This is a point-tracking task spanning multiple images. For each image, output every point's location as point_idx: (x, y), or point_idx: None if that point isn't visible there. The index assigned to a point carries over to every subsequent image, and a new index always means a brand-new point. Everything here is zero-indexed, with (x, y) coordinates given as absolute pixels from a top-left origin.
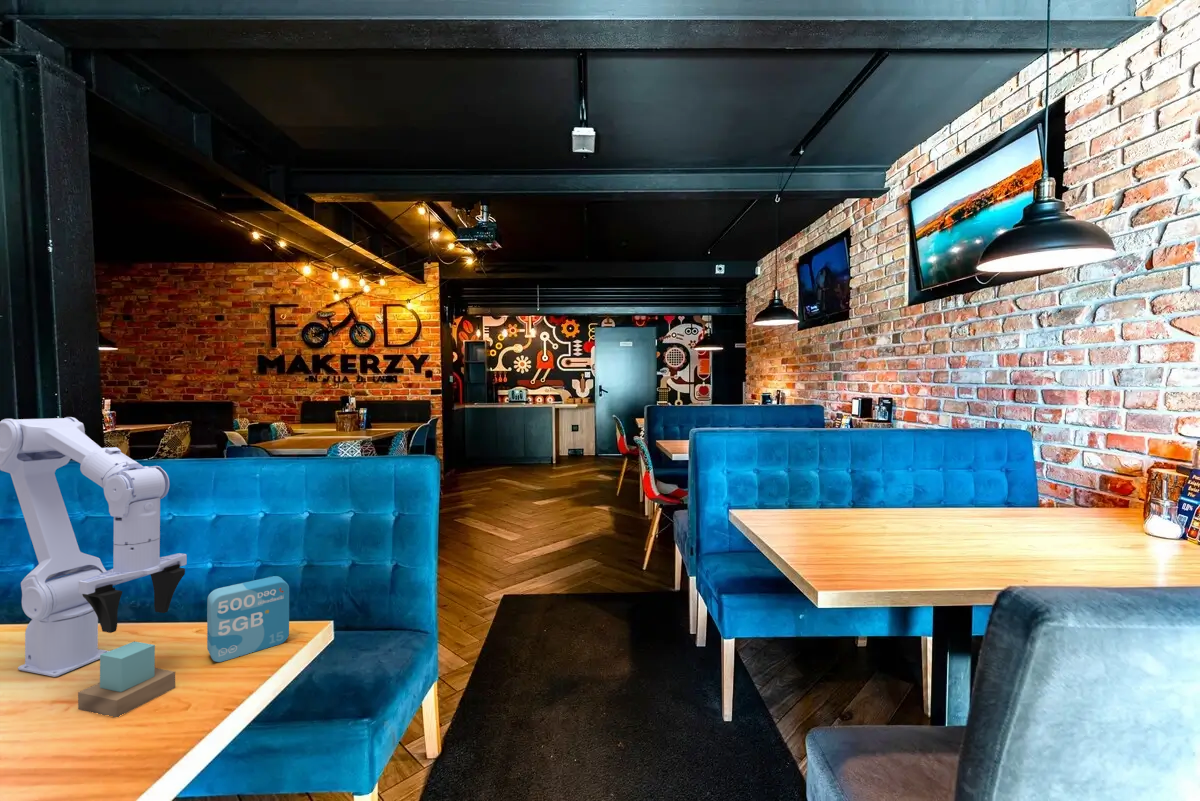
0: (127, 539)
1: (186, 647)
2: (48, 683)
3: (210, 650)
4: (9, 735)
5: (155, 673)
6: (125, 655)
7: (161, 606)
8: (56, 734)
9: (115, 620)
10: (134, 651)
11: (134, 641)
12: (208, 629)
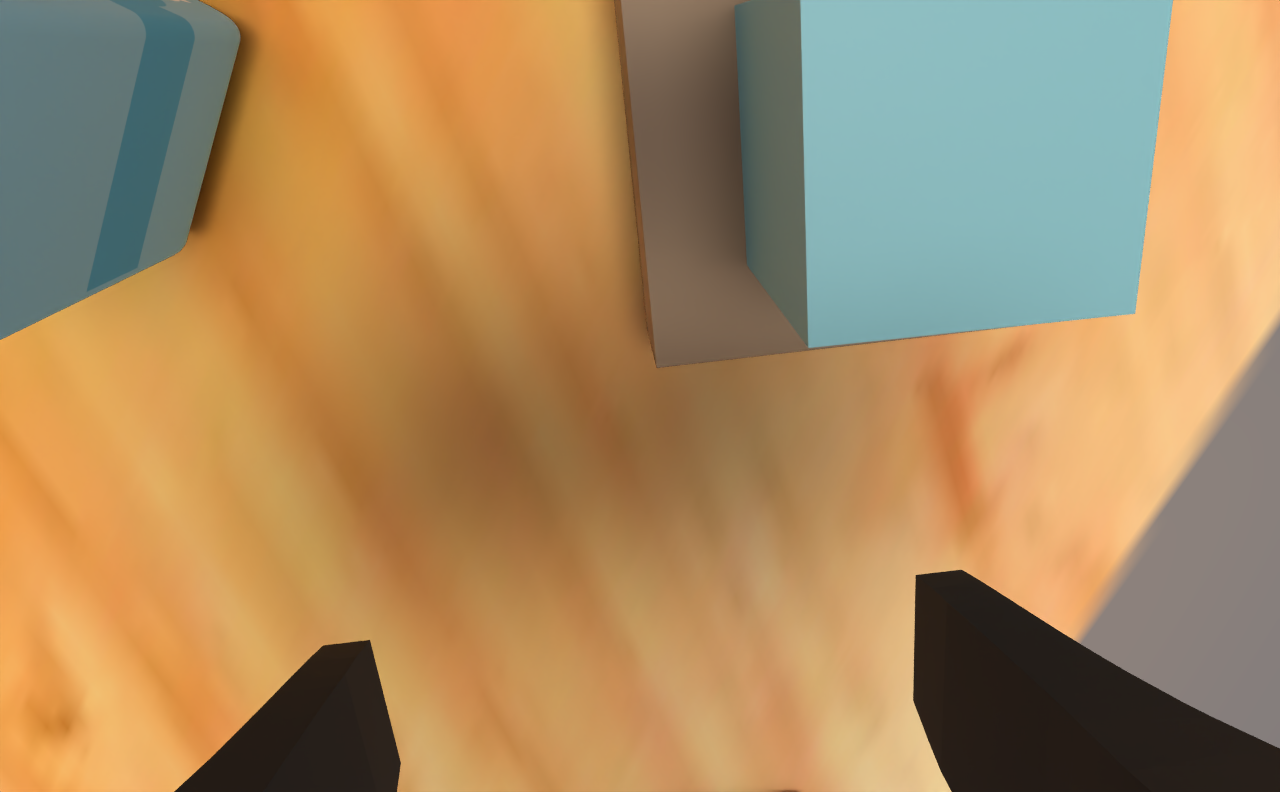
0: None
1: (231, 537)
2: (850, 761)
3: (211, 74)
4: (1268, 332)
5: (698, 60)
6: (1103, 3)
7: (356, 740)
8: (1231, 69)
9: (1010, 636)
10: (993, 30)
11: (809, 342)
12: (93, 221)
